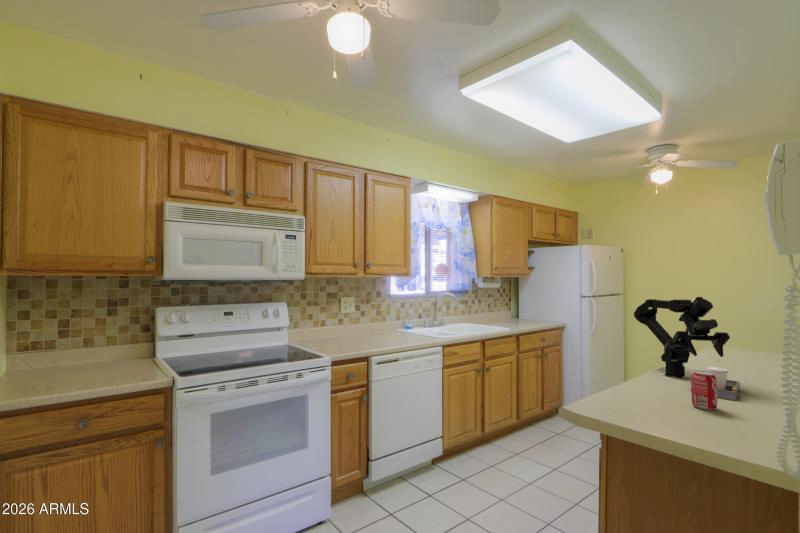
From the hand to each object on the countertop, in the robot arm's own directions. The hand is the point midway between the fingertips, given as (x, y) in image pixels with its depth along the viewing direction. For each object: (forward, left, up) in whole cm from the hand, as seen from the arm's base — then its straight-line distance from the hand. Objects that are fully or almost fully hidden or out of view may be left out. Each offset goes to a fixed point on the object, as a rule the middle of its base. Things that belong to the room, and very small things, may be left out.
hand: (709, 356), depth 156 cm
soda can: (+2, -27, -14) cm, 31 cm away
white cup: (+3, -4, -14) cm, 15 cm away
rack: (+3, 0, -13) cm, 14 cm away
